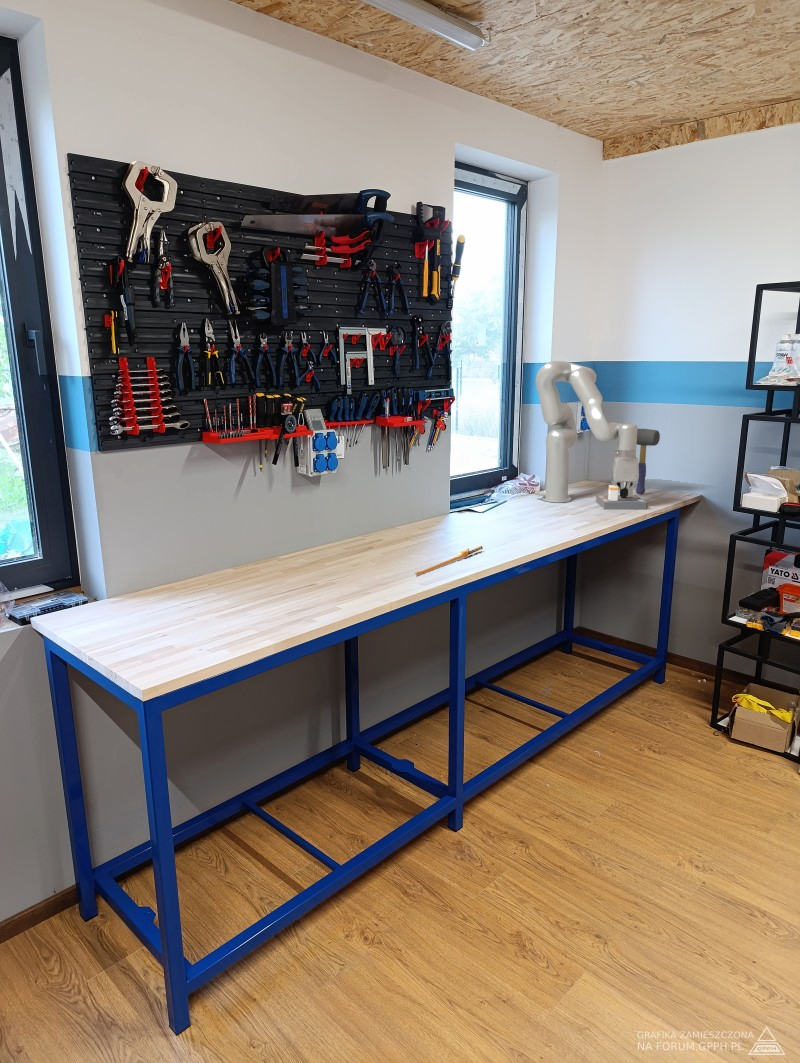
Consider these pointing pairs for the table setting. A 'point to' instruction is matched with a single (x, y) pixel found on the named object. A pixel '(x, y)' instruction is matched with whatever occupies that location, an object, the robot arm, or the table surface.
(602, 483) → the table surface
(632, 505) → the breaker panel
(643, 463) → the rubber mallet
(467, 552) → the katana
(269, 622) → the table surface
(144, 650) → the table surface
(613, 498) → the block
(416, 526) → the table surface
